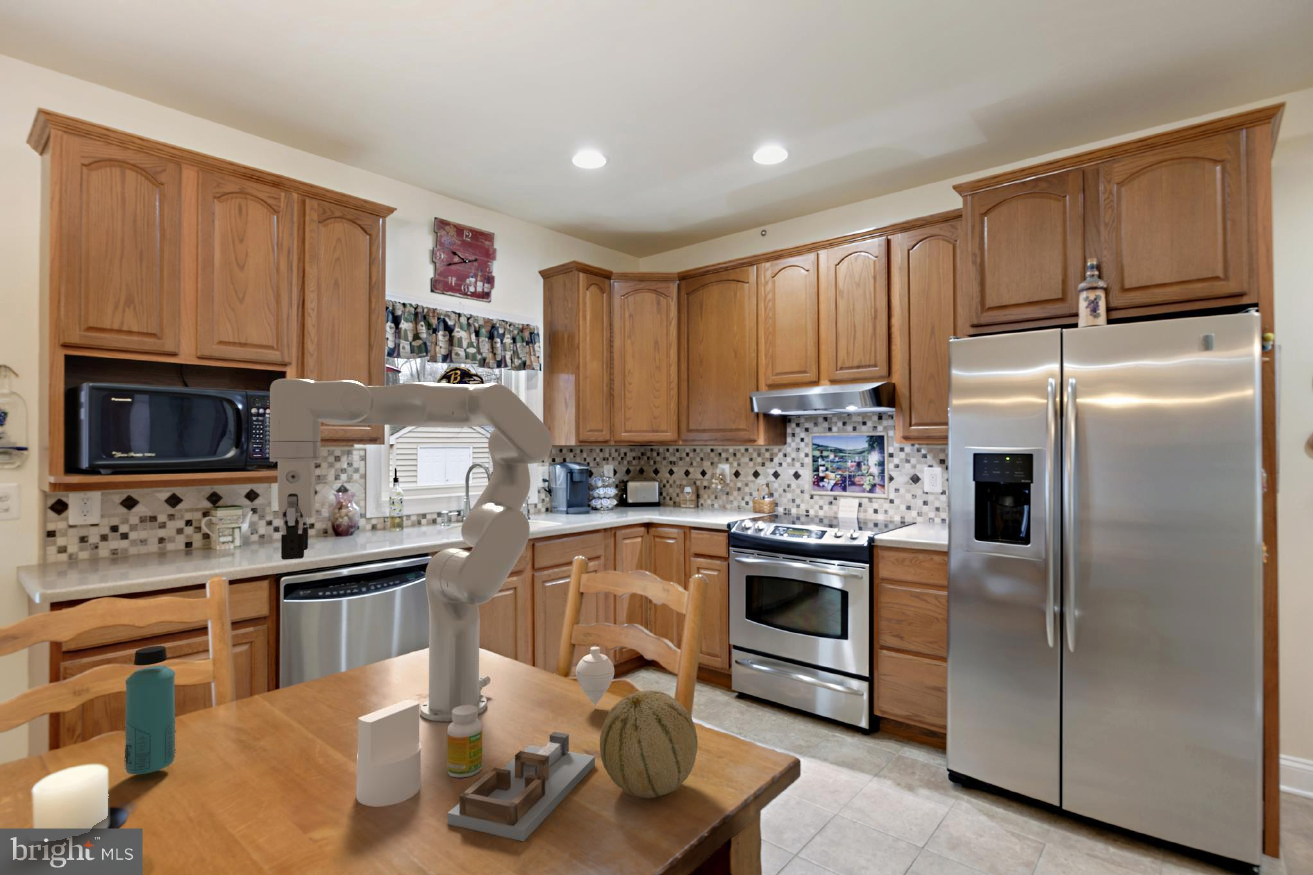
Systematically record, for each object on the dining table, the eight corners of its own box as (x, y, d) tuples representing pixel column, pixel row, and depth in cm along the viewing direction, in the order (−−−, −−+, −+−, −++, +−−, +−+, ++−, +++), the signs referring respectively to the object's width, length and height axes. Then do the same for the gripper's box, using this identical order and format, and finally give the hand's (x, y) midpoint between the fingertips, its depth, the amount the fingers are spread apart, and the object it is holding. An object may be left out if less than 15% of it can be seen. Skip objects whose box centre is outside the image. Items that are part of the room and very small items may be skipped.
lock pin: (553, 748, 109) (553, 731, 109) (568, 751, 108) (568, 734, 108) (521, 777, 99) (521, 758, 99) (537, 780, 98) (537, 761, 98)
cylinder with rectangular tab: (381, 813, 93) (382, 727, 93) (343, 795, 97) (344, 714, 98) (433, 785, 100) (433, 706, 101) (396, 770, 105) (396, 694, 105)
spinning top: (568, 712, 128) (568, 650, 128) (587, 698, 135) (587, 640, 135) (603, 718, 125) (603, 655, 125) (620, 704, 132) (620, 644, 133)
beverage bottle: (185, 768, 106) (187, 643, 106) (141, 788, 99) (143, 655, 100) (157, 762, 108) (159, 639, 108) (112, 781, 101) (114, 651, 102)
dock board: (530, 753, 111) (530, 724, 111) (594, 765, 107) (595, 734, 107) (447, 823, 90) (447, 787, 90) (523, 841, 86) (523, 803, 86)
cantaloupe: (711, 778, 102) (711, 682, 103) (675, 828, 89) (675, 716, 89) (626, 760, 108) (626, 669, 109) (581, 804, 95) (581, 699, 95)
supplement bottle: (472, 780, 102) (472, 717, 102) (440, 776, 103) (440, 714, 103) (487, 764, 107) (488, 704, 107) (457, 760, 108) (457, 701, 108)
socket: (494, 784, 98) (494, 767, 98) (545, 794, 95) (545, 776, 95) (459, 814, 90) (459, 795, 90) (513, 826, 87) (513, 807, 87)
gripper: (318, 452, 104) (317, 560, 104) (322, 452, 120) (322, 545, 119) (263, 453, 101) (262, 564, 101) (275, 452, 117) (275, 548, 116)
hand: (295, 554), depth 110 cm, fingers open, 9 cm apart
